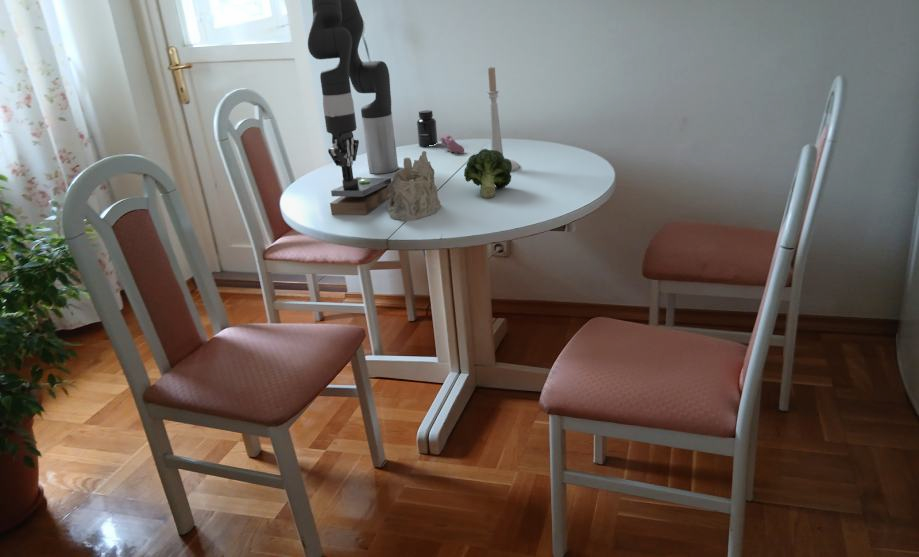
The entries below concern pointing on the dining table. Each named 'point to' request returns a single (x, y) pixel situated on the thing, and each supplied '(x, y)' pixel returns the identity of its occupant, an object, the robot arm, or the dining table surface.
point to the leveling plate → (360, 186)
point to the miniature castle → (413, 191)
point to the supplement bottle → (426, 129)
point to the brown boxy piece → (359, 203)
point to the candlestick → (496, 117)
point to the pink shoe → (451, 144)
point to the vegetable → (488, 171)
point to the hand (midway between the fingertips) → (348, 180)
